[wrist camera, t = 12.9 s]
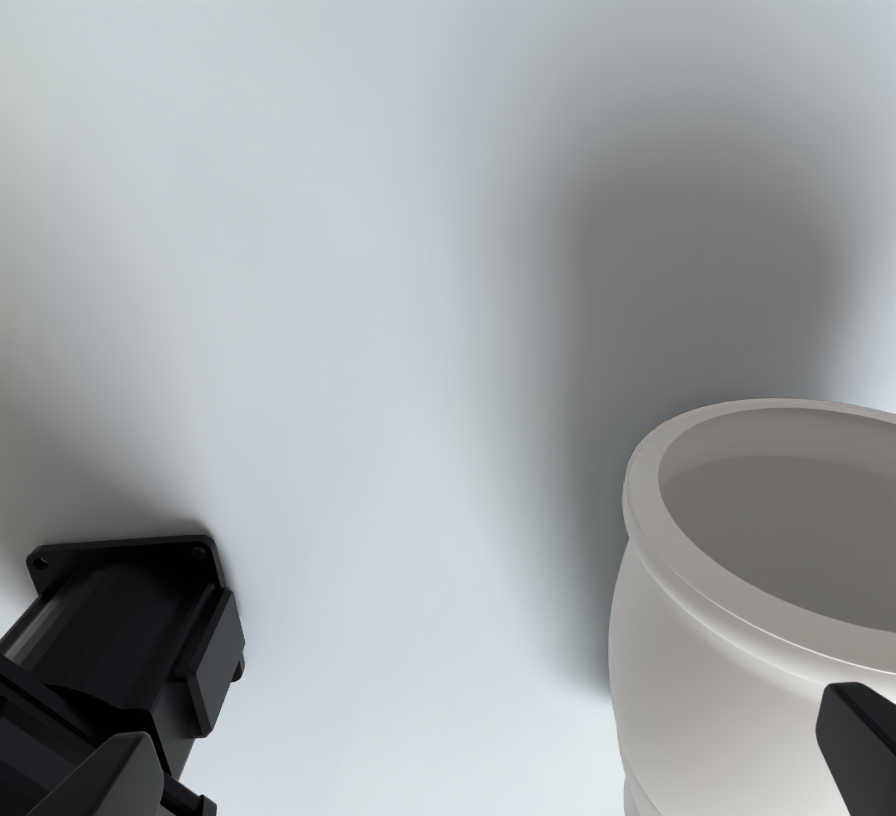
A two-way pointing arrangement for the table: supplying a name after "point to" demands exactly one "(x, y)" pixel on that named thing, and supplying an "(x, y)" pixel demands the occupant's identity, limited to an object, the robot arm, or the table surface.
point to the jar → (750, 602)
